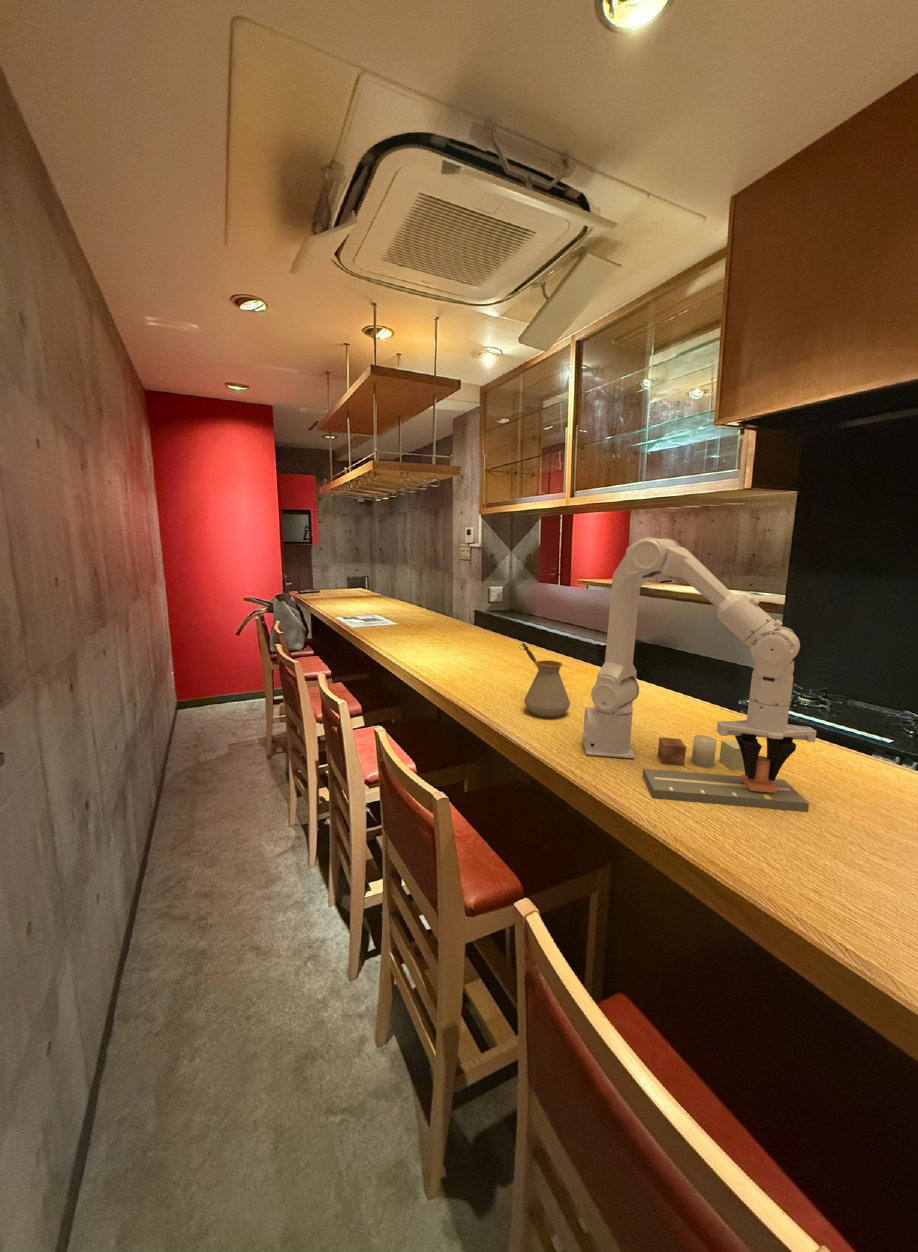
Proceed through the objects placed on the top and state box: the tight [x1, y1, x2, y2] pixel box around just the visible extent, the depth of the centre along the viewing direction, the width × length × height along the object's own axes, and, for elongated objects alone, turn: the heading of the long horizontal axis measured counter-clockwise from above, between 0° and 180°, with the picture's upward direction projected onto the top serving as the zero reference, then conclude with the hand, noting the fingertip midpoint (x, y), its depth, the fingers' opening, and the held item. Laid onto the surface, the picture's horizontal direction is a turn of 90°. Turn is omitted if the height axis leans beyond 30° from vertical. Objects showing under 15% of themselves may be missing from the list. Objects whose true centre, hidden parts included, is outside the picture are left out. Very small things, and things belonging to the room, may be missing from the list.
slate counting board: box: [642, 767, 810, 813], centre depth 84 cm, size 24×8×2 cm, turn 81°
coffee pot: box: [518, 642, 571, 719], centre depth 127 cm, size 21×12×15 cm, turn 18°
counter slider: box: [740, 755, 777, 793], centre depth 83 cm, size 4×4×5 cm
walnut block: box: [657, 737, 687, 767], centre depth 97 cm, size 4×4×4 cm
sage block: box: [718, 739, 745, 772], centre depth 95 cm, size 4×4×4 cm
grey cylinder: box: [691, 734, 717, 769], centre depth 96 cm, size 4×4×5 cm
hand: (759, 777), depth 83 cm, fingers closed on counter slider, 3 cm apart
